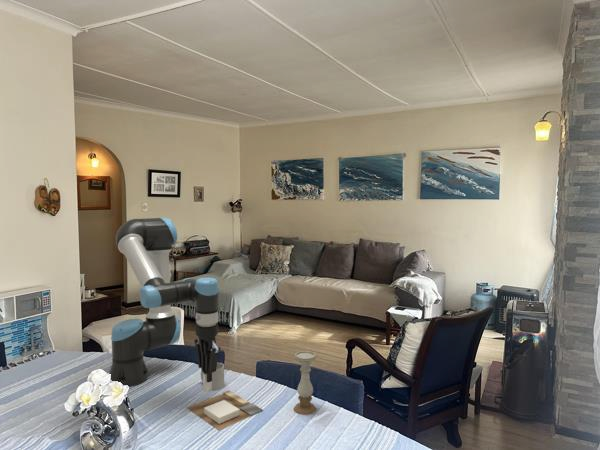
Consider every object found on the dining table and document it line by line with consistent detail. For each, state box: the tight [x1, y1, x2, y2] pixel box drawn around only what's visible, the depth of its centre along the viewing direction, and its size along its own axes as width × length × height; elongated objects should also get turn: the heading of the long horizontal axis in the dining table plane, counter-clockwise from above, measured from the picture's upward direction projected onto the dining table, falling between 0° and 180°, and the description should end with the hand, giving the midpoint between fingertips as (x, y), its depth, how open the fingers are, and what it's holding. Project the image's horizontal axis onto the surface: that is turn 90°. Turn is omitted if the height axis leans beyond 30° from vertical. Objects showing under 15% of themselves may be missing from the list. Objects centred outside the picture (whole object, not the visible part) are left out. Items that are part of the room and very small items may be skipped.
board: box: [186, 393, 265, 431], centre depth 146 cm, size 20×18×1 cm
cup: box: [200, 362, 225, 391], centre depth 164 cm, size 7×10×9 cm
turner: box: [222, 389, 264, 417], centre depth 150 cm, size 18×5×2 cm, turn 44°
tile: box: [204, 400, 240, 424], centre depth 142 cm, size 2×8×9 cm
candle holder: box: [292, 350, 318, 416], centre depth 146 cm, size 9×9×20 cm
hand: (207, 389), depth 148 cm, fingers closed
